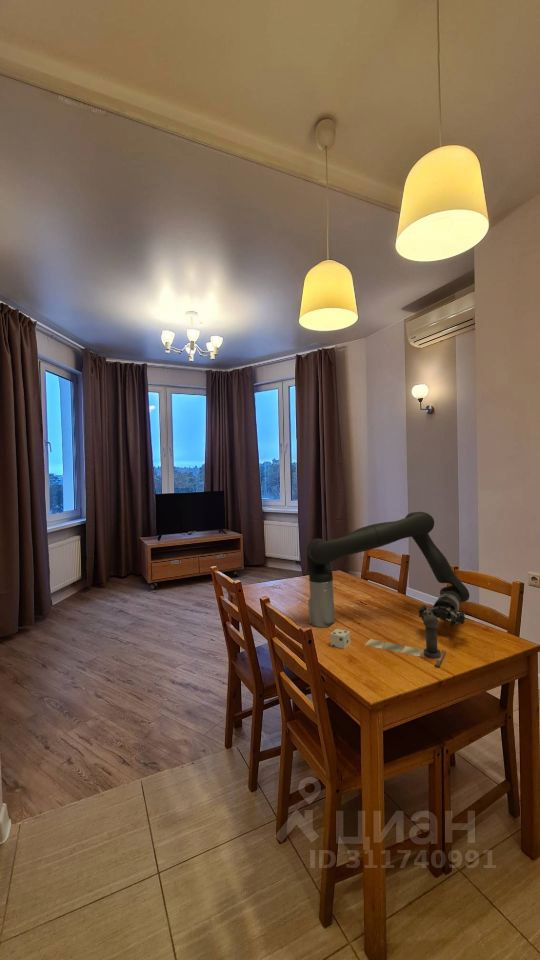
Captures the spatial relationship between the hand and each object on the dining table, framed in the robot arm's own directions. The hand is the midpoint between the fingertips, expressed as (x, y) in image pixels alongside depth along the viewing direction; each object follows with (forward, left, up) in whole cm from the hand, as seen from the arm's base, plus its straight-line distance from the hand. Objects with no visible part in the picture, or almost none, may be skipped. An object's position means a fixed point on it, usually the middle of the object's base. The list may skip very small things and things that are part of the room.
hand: (437, 621), depth 128 cm
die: (-28, -16, -8) cm, 33 cm away
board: (-9, -10, -8) cm, 16 cm away
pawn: (0, -10, -7) cm, 12 cm away
